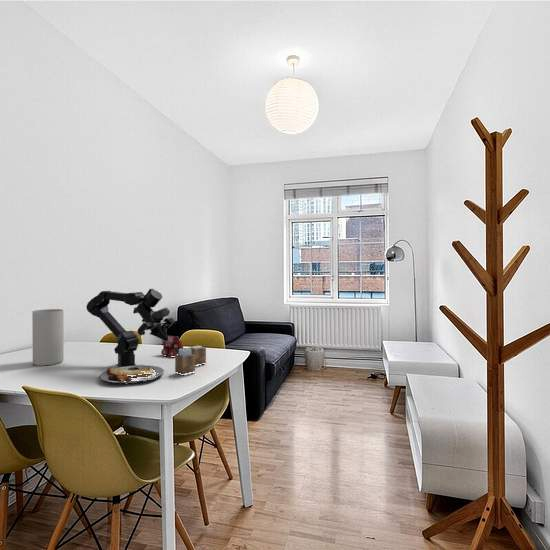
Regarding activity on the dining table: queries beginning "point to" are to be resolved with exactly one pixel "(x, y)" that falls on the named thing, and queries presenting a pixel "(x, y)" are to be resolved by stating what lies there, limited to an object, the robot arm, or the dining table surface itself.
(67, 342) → the dining table surface
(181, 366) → the key post
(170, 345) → the toy fire truck
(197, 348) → the key
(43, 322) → the cylinder vase
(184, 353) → the key
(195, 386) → the dining table surface
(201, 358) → the key post
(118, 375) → the food plate
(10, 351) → the dining table surface
